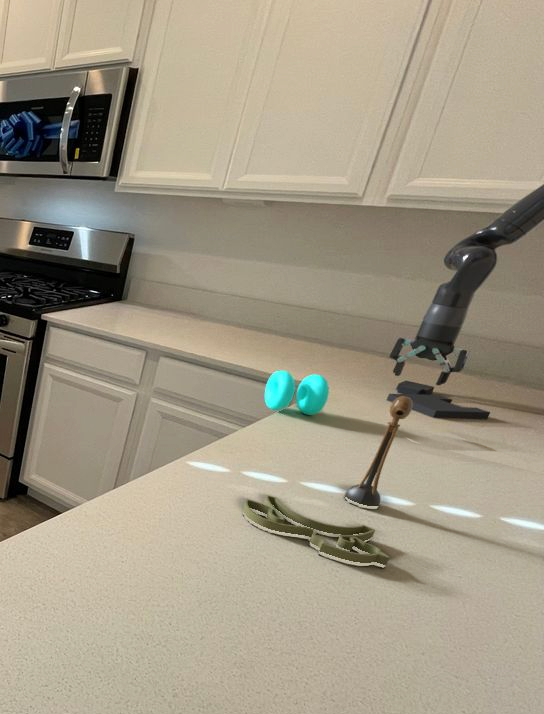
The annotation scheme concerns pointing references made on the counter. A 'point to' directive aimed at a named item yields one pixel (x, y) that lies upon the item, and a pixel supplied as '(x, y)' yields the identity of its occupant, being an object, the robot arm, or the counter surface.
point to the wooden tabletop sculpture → (380, 456)
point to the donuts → (308, 393)
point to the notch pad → (441, 407)
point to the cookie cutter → (344, 541)
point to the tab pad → (414, 388)
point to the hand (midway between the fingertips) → (417, 379)
